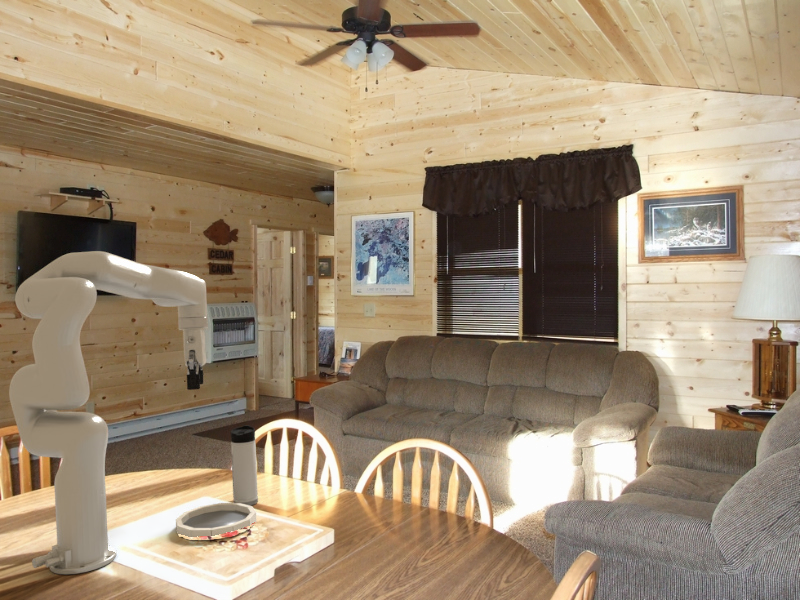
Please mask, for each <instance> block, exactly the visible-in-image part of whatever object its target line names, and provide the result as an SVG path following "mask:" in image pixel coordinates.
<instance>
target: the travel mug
mask: <svg viewBox="0 0 800 600" xmlns="http://www.w3.org/2000/svg"><path fill="white" fill-rule="evenodd" d="M255 430H256V428H255V427H254V426H251V425H250V424H249V425H248V424H246V425H245V424H244V425H242V426H239V427H238V426H237V427H235V428H233V429H231V430H230V438H231V439H230V448H231V449H230V450H231V470H232V471H231V472H232V473H231V474H232V475H231V477H232V495H233V497H232V498H233V500H232V501H233V502H232V503H242V504H246V505H250V506H254V505H256V504H257V503H258V502H259V498H258V471H257V470H258V469H257V452H256V451H257V448H256V433H255V432H256V431H255Z"/></svg>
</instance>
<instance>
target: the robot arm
mask: <svg viewBox="0 0 800 600" xmlns="http://www.w3.org/2000/svg"><path fill="white" fill-rule="evenodd" d="M97 290H98V291H103V292H106V293H111V294H115V295H119V296H121V297H126V298H129V299H136V300H137V299H140V300H151V301H152V302H153V303H154V304H155V305H157V306H159V307H164V308H165V307H166V308H168V307H169V308H171V307H173V308H174V307H175V308H176V307H177V317H178V318H177V319H178V321H177V322H178V331H182V333H183V334H182V337H183V338H182V339H183V357H184V365H185V367H187V368H186V386H187V390H188V391H189V390H190V391H191V390H192V391H193V390H199V389H201V385H204V369H203V366H204V365H206V364H207V352H206V351H207V350H206V349H207V348H206V337H205V335H206V334H205V330H208V328H209V327H208V306H207V305H208V304H207V303H208V302H207V301H208V300H207V283H206V281H205V280H204V279H202V278H200V277H199V276H196V275H194V274H191V273H188V272H185V271H182V270H177V269H170V268H165V267H162V266H161V267H159V266H156V265H150V264H144V263H140V262H137V261H133V260H132V259H131V260H130V259H128V258H124V257H122V256H119V255H116V254H112V253H109V252H108V251H107V252H106V251H101V250H99V251H98V250H95V251H93V250H92V251H81V252H79V251H78V252H70V253H66V254H64V255H61V256H59V257H57V258H56V259H54V260H52V261H51V262H50V263H48V264H47V265H45V266H44V267H43V268H41V269H39V270H38V271H37V272H35V273H34V274H33V275H31V276H29V277H28V278H27V279H25V280H24V281H23V282H22V283H21V284H20V285H19V287H18V288H17V291H16V293H15V297H14V298H15V300H14V301H15V306H16V308H17V309H18V311H19V312H20V313H21V314H22V315H24V316H26V317H28V318H30V319H32V320H33V319H34V320H40V321H39V323H38V325H37V326H36V329H35V331H34V334H33V335H32V336H33V337H32V343H31V344H32V345H31V346H32V353H33V358H34V362H35V363H33V364H32V363H31V364H27V365H24V366H22V367H21V368H19V369H18V370H16V372H15V373H14V375H13V376H12V378H11V380H10V384H9V389H8V392H9V393H8V394H9V395H8V396H9V401H10V405H11V410H12V414H13V417H14V420H15V423H16V426H17V431H18V435H19V437H20V440H21V443H22V445H23V446H24V448H25V450H26V451H27V452H28V453H30V455H31V454H32V455H33V456H37V457H42V458H58V459H60V458H61V459H62V460H61V463H60V466H59V468H58V469H57V472H56V474H55V476H54V484H53V486H54V487H53V488H54V501H55V502H54V503H55V505H54V507H55V521H56V522H55V524H56V526H55V528H56V544H54V545H52V546H51V550H50V551H48V553H47V554H44V555H39V556H37V557H34V558H33V559H32V560H31V564H32V567H33V568H34V569H36V568H40V567H42V566H45V567H46V568H49V570H50V571H51V573H55V574H56V575H57V574H58V575H78V574H83V573H87V572H91V571H94V570H98V569H100V568H102V567H104V566H107V565H108V564H110V563H112V562H113V561H114V560H115V559H116V558H117V552H116V553H115V552H113V551H109V550H108V545H109V539H108V538H109V537H108V536H109V535H108V513H107V493H106V491H107V487H106V470H105V469H106V468H105V467H106V453H107V447H108V443H109V427H108V424H107V421H106V420H104V418H102V417H101V416H99V415H98V414H96V413H92V412H88V411H87V412H86V411H67V410H74V409H78V408H80V407H82V406H84V405H85V404H86V403H87V402H88V400H89V398H90V395H91V394H90V393H91V391H90V382H89V378H88V374H87V369H86V365H85V361H84V357H83V354H82V353H83V352H82V347H81V339H80V336H81V331H82V328H83V325H84V324H85V321H86V320H87V318H88V316H89V315H90V313H92V311H93V309H94V307H95V305H96V302H97V296H98V295H97V294H98V292H97Z"/></svg>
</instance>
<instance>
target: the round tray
mask: <svg viewBox="0 0 800 600" xmlns="http://www.w3.org/2000/svg"><path fill="white" fill-rule="evenodd" d="M254 522H256V523H257V511H256V510H255V508H254V507H253V505H251V506H250V505H246V504H242V503H234V502H219V503H213V504H207V505H202V506H198V507H195V508H193V509H191V510H190V509H189V510H187V511H185V512H183V513H182V514H181V515H179V516H178V517H176V519H175V529H176V528H177V531H176V533H177V532H178V534H181V535H185V536H188V537H197V536H198V537H199V536H215V535H219V534H223V533H226V532H231V531H235V530H238V529H241V528H244V527H247V526H250V525H251V524H252V523H254Z"/></svg>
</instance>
